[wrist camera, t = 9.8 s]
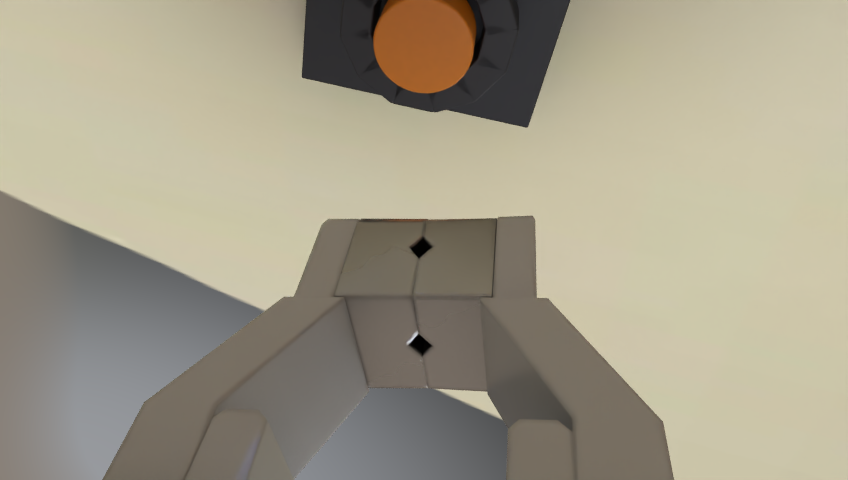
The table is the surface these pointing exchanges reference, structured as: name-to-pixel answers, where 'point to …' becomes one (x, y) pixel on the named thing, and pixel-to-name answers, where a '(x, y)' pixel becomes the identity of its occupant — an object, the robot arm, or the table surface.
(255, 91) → the table surface
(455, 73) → the button
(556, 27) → the control block
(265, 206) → the table surface
